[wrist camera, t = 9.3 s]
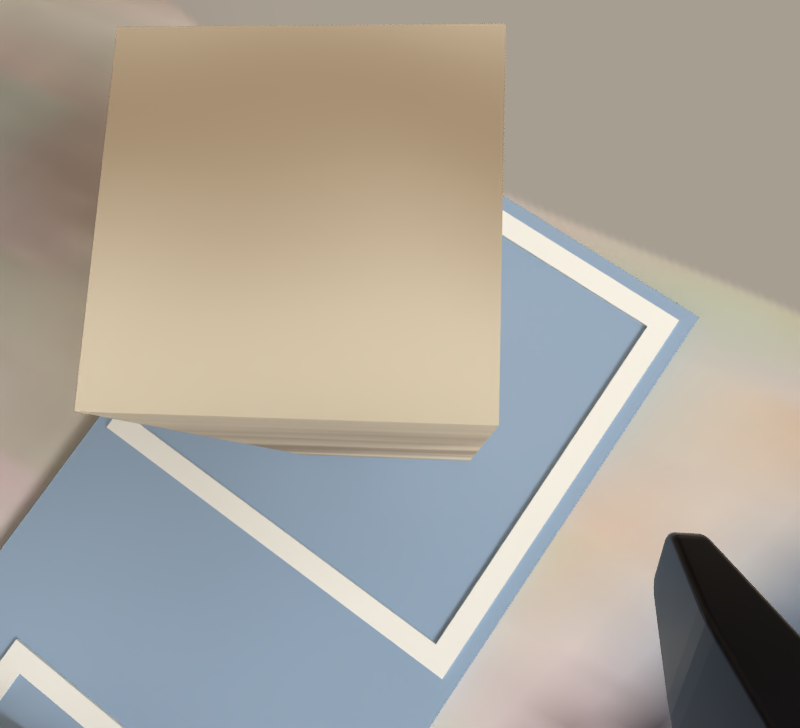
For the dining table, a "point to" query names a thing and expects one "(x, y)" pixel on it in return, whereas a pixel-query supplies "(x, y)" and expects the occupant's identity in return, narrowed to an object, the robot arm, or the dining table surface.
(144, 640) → the blueprint mat
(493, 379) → the beech block
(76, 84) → the dining table surface
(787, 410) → the dining table surface
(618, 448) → the dining table surface
